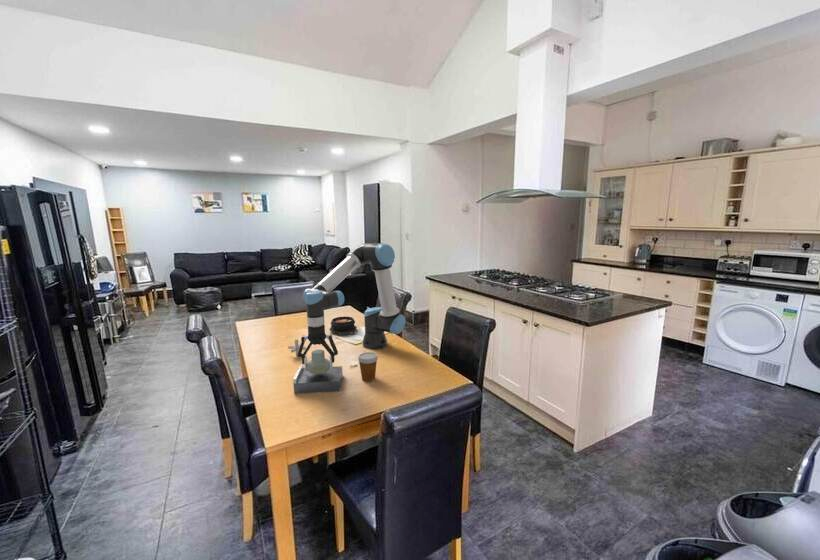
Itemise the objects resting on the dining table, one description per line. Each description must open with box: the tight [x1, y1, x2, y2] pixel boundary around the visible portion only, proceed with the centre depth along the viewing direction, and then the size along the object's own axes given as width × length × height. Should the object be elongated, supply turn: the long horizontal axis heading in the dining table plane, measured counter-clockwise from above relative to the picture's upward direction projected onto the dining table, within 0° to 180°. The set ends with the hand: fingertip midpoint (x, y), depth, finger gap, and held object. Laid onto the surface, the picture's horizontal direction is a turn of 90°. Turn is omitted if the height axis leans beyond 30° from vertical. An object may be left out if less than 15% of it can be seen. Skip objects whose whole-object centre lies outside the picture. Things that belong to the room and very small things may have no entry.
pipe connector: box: [287, 338, 307, 357], centre depth 198 cm, size 10×10×10 cm
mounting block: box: [292, 363, 343, 395], centre depth 165 cm, size 20×16×7 cm
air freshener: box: [307, 349, 330, 374], centre depth 163 cm, size 11×8×10 cm
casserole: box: [329, 316, 358, 335], centre depth 241 cm, size 25×19×8 cm
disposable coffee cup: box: [357, 352, 379, 383], centre depth 169 cm, size 10×10×12 cm
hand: (318, 369), depth 164 cm, fingers closed on air freshener, 11 cm apart
